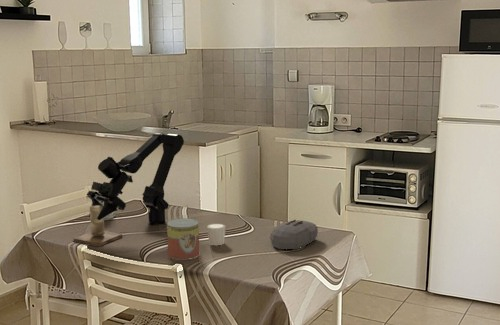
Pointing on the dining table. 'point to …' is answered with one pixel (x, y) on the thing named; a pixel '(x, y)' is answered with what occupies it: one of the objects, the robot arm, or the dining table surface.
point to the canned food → (183, 238)
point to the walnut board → (98, 238)
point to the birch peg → (96, 221)
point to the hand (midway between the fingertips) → (94, 218)
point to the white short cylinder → (216, 234)
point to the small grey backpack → (293, 234)
